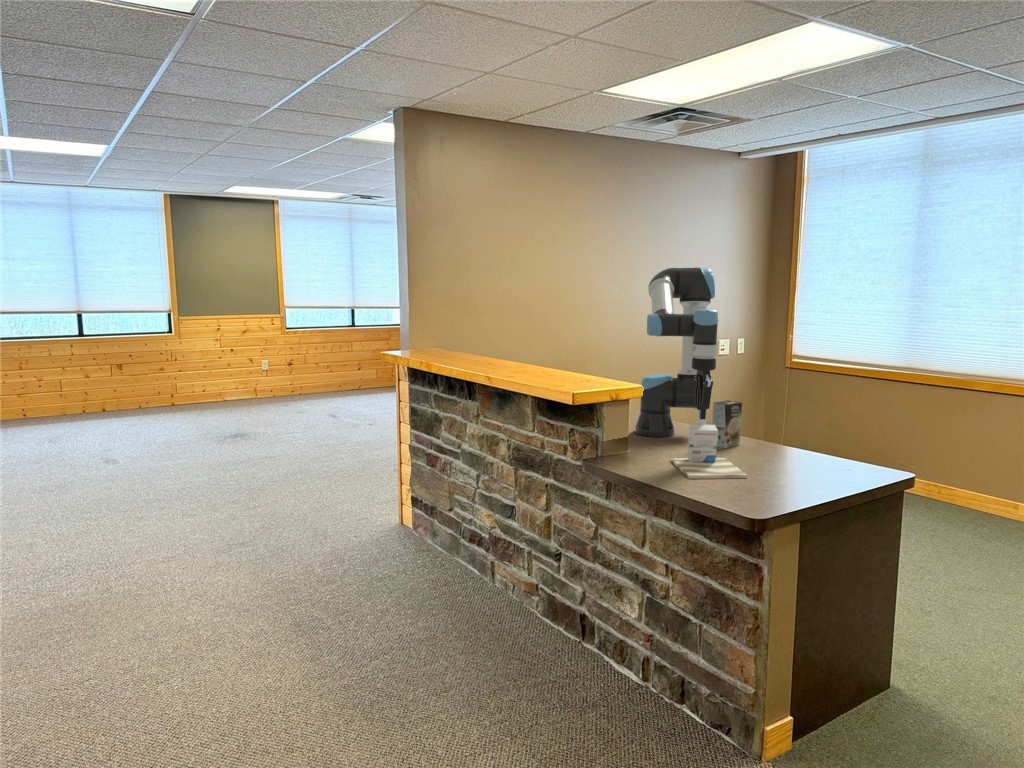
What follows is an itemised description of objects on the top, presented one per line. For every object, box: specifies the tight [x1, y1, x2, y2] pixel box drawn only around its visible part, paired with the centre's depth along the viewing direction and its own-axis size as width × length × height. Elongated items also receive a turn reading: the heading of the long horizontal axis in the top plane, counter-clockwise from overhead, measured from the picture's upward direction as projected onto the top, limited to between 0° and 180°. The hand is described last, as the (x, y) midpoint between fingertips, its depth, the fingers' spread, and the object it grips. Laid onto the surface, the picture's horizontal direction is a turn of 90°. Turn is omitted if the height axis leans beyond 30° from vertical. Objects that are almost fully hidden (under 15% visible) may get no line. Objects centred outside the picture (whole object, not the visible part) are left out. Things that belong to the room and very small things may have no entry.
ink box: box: [686, 424, 718, 462], centre depth 225 cm, size 9×5×12 cm, turn 85°
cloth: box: [670, 457, 748, 480], centre depth 220 cm, size 20×18×1 cm
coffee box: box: [711, 400, 743, 449], centre depth 250 cm, size 9×6×16 cm
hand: (701, 428), depth 226 cm, fingers closed
